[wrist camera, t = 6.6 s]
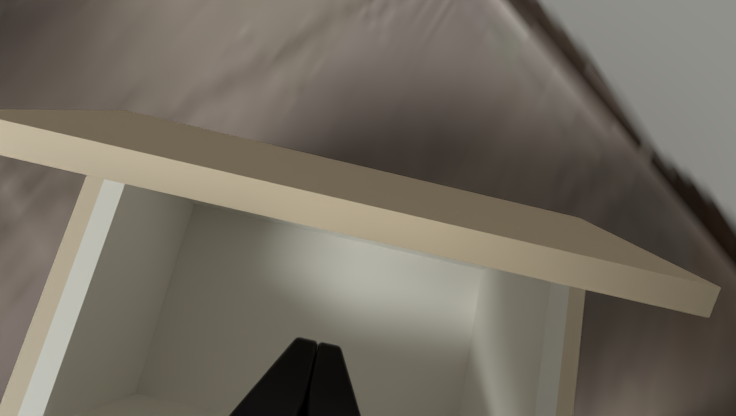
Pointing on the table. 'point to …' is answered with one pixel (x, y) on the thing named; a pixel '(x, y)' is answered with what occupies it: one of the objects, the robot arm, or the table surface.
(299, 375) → the robot arm
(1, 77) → the table surface
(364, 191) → the top flap
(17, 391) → the storage box
